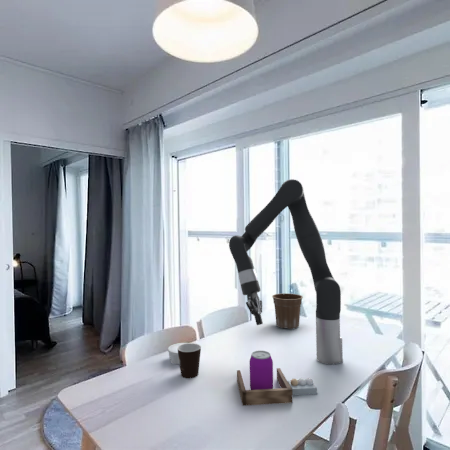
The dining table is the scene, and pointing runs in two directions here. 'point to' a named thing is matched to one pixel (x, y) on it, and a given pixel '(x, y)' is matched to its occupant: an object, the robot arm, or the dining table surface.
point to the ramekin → (174, 353)
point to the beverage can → (261, 370)
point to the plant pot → (287, 310)
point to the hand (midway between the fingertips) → (259, 324)
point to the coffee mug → (189, 359)
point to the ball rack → (302, 386)
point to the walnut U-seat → (265, 392)
